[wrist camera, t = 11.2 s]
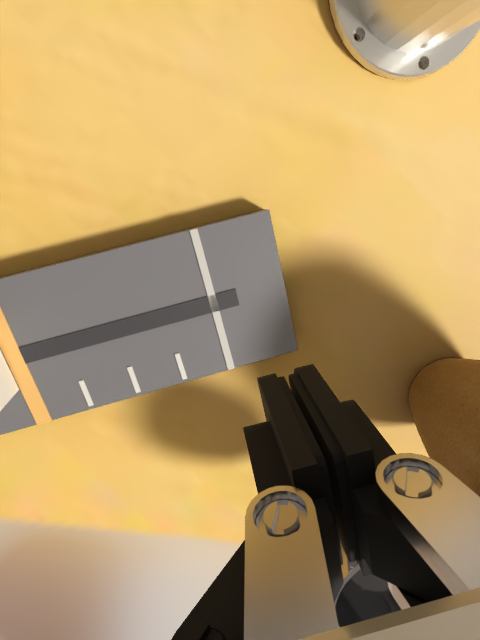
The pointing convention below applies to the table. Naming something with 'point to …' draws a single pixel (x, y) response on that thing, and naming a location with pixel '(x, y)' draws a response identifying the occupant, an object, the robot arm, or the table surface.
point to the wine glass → (362, 595)
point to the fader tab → (6, 383)
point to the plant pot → (450, 416)
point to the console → (142, 318)
